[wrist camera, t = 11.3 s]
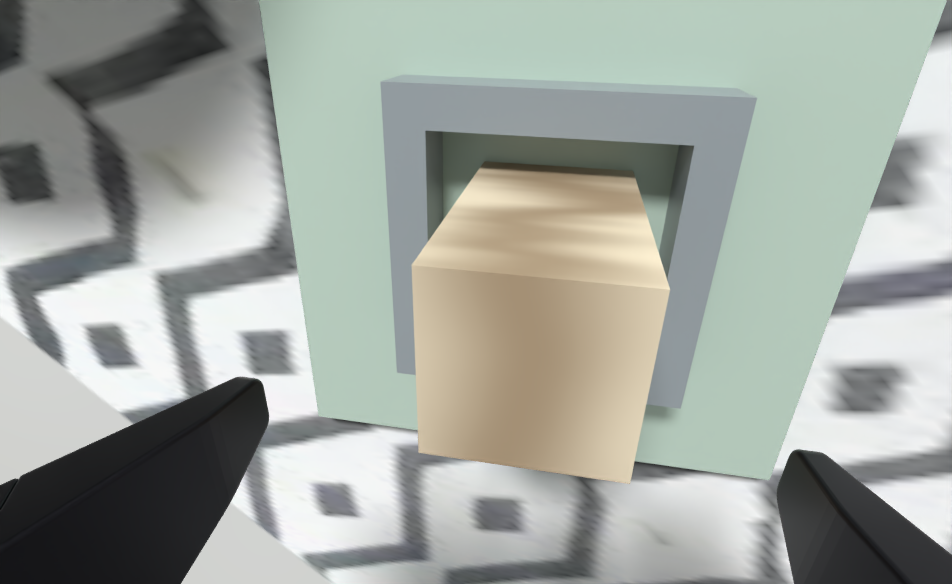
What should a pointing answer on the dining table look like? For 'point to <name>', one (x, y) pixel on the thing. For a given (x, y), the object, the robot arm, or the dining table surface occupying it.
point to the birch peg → (539, 321)
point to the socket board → (603, 147)
